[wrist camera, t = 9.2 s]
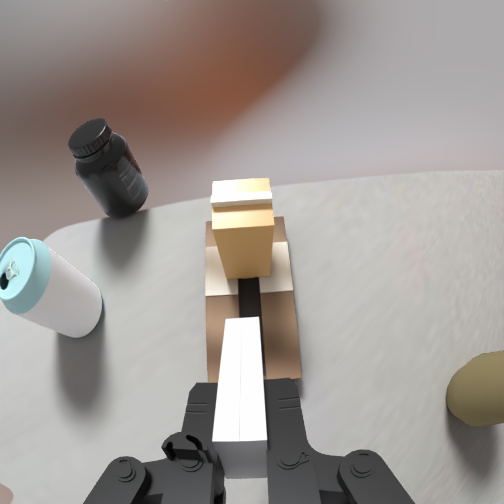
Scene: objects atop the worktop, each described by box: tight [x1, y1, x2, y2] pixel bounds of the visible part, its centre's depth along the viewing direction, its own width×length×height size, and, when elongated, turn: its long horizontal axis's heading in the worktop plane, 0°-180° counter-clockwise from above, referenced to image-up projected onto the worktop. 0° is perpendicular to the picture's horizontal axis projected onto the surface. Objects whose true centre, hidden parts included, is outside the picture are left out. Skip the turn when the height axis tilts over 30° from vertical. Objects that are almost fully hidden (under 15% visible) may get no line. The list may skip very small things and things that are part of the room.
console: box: [205, 217, 302, 383], centre depth 27 cm, size 16×8×3 cm, turn 4°
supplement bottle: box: [68, 118, 148, 218], centre depth 29 cm, size 7×7×12 cm
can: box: [0, 237, 102, 338], centre depth 23 cm, size 7×7×12 cm
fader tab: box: [211, 178, 274, 279], centre depth 24 cm, size 4×4×11 cm
